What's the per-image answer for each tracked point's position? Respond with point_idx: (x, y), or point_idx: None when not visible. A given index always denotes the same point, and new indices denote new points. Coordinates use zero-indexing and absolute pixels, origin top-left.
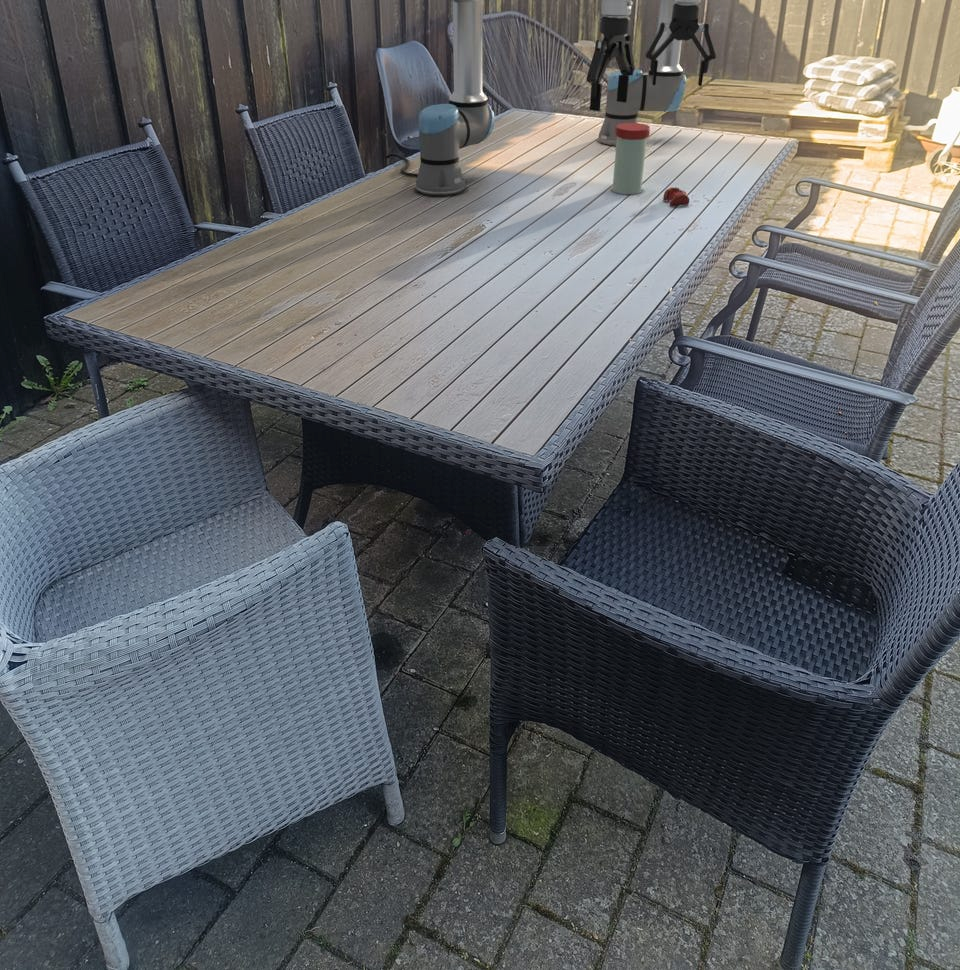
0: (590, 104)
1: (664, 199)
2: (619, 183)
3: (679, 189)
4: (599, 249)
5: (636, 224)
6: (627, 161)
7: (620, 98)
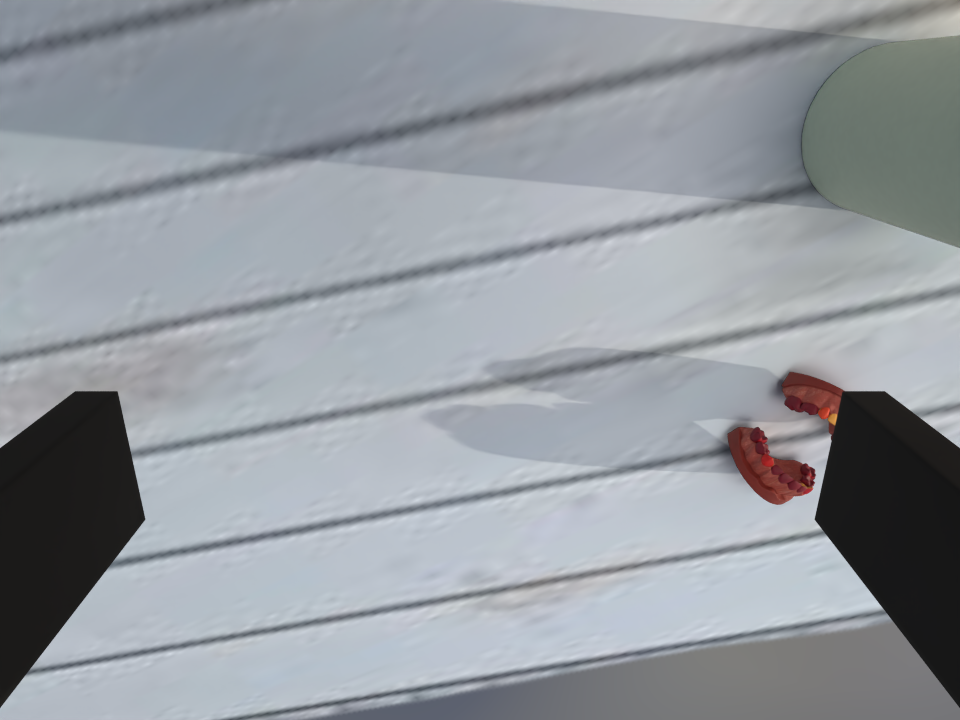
0: (34, 431)
1: (784, 383)
2: (829, 128)
3: None
4: None
5: (420, 431)
6: (901, 185)
7: (851, 472)
